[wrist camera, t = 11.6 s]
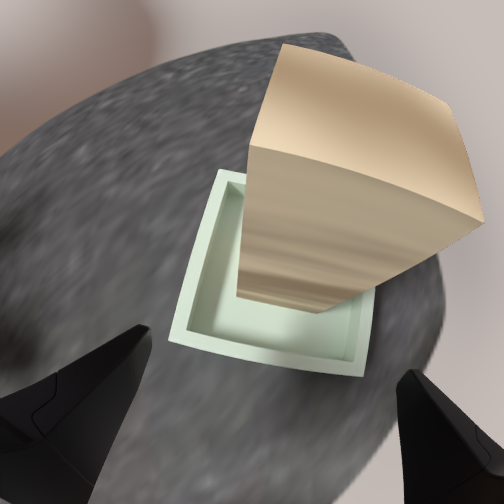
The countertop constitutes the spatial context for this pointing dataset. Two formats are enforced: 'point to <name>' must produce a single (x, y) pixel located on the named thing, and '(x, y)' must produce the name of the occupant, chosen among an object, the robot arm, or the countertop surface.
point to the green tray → (260, 304)
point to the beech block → (347, 183)
